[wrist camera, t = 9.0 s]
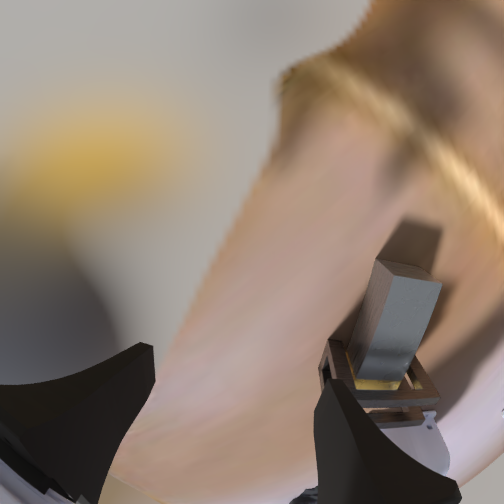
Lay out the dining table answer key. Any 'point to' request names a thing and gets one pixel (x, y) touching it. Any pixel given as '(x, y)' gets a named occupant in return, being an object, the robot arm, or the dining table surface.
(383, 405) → the collar frame
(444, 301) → the dining table surface
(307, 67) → the dining table surface
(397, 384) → the grey rectangular block
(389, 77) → the dining table surface
